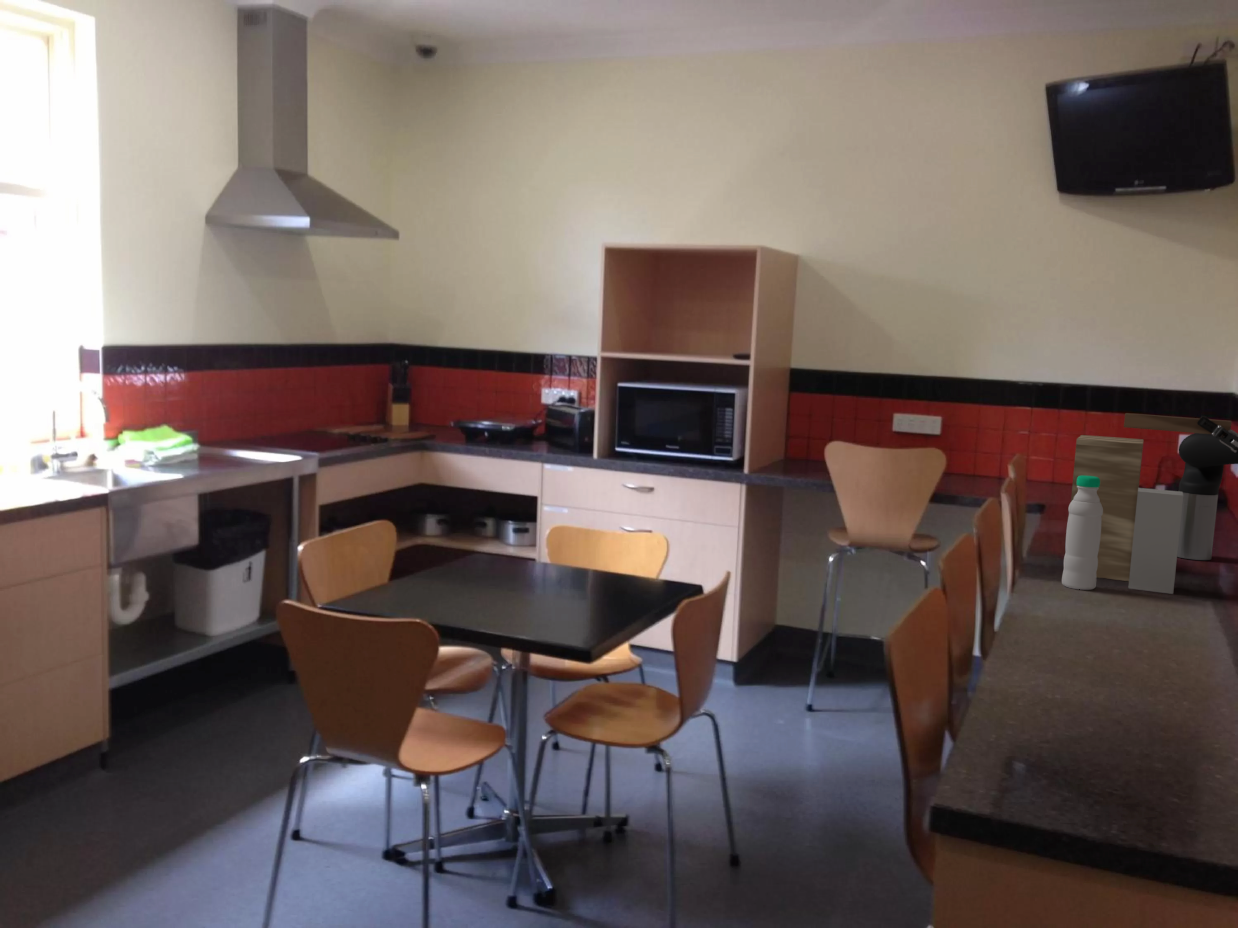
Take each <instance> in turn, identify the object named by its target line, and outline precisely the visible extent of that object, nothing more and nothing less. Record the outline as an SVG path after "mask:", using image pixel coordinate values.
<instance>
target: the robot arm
mask: <svg viewBox="0 0 1238 928" xmlns="http://www.w3.org/2000/svg"><path fill="white" fill-rule="evenodd" d="M1199 419H1200V420H1199V421H1198V422H1197V424H1198V425H1199V426H1201V427H1202V428H1204V429H1206V430H1207V431H1209V432H1210V433H1211V434H1202V433H1191V434H1188V435H1187V436H1186V437H1185V438H1183V440H1182V441H1181V442H1180V444H1179V446H1178V455H1179V457H1180V458H1181V460H1182V462H1184V463H1185V464H1184V470H1183V473H1182V474H1183V475H1182V477H1181V479H1180V480H1179V485H1178V491H1180V492H1183V504H1182V513H1181V523H1180V533H1179V542H1178V552H1177V558H1180V559H1181V558H1182V559H1186V560H1187V559H1188V560H1196V561H1210V560H1212V553H1213V544H1214V536H1215V527H1216V518H1217V511H1218V499H1219V491H1220V490H1219V489H1220V486H1221V484H1222V480H1223V475H1224V466H1225V465H1227V466H1228V465H1238V432H1236V431H1235V430H1233V429H1231V430H1226V429H1225V428H1223V427H1222V426H1221V425H1220V426H1219V425H1218V426H1217V424H1215V423H1214V422H1212V421H1211V420H1209V419H1210V418H1209V417H1207V416H1206V415H1201V416H1200V417H1199ZM1224 432H1225V434H1224V435H1222V434H1223V433H1224Z"/></svg>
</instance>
